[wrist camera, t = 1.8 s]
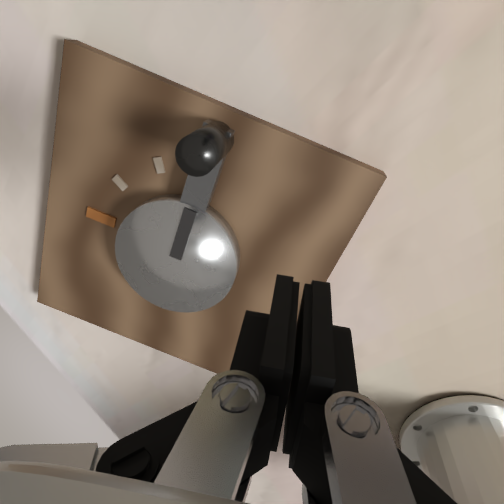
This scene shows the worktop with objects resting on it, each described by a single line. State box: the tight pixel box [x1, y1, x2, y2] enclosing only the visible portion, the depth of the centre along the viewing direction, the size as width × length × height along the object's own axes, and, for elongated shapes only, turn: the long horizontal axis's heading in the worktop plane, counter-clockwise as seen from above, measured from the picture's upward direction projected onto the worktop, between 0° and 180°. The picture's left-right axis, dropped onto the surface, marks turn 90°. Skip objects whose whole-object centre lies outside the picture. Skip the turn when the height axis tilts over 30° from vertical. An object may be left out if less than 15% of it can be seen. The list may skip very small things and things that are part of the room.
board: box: [37, 39, 387, 374], centre depth 32 cm, size 24×24×2 cm
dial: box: [115, 119, 240, 313], centre depth 27 cm, size 16×10×6 cm, turn 159°
